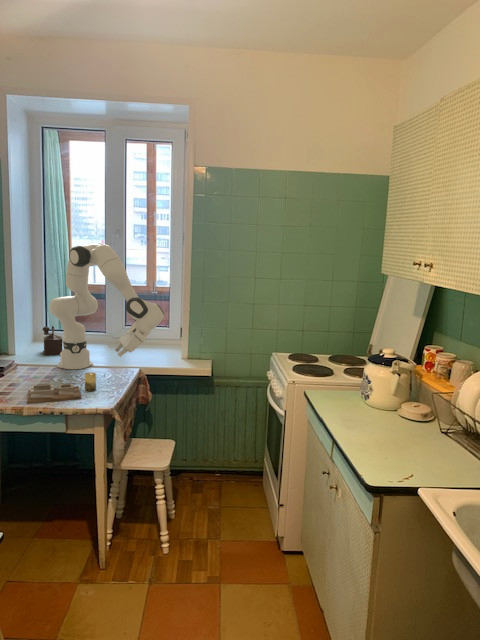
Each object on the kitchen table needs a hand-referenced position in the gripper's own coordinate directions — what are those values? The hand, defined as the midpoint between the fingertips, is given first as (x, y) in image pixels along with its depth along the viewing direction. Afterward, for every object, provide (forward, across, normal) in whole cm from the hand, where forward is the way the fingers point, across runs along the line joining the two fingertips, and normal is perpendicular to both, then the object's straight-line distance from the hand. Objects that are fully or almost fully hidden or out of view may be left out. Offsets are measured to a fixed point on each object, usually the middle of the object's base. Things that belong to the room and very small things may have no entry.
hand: (117, 353), depth 229 cm
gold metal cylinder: (+21, 0, +3) cm, 21 cm away
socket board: (+32, +4, -8) cm, 33 cm away
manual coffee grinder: (+31, -75, -8) cm, 82 cm away
